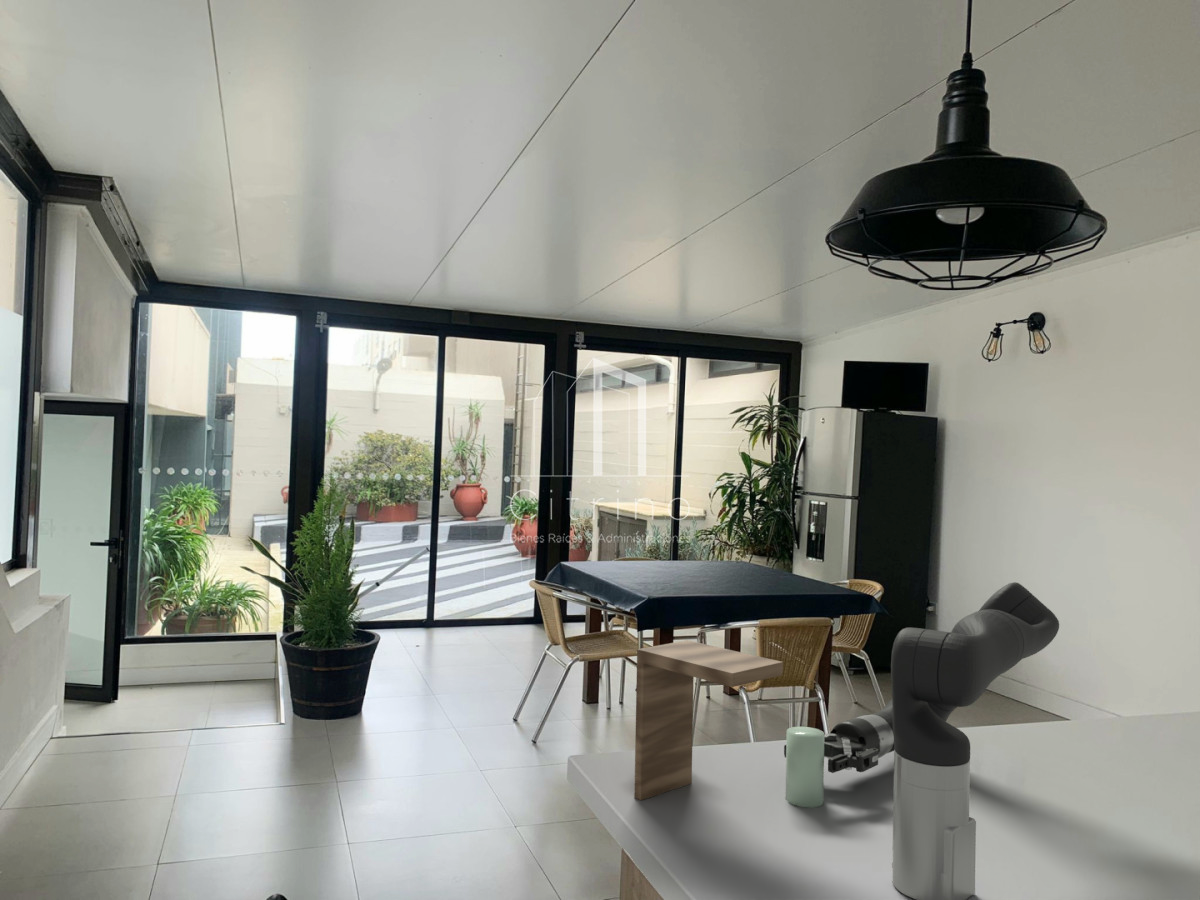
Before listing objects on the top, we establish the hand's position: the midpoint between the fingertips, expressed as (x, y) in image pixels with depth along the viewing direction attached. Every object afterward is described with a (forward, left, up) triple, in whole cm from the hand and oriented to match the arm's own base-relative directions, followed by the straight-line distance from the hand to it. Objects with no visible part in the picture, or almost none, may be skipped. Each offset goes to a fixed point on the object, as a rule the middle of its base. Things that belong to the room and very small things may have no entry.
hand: (807, 758), depth 143 cm
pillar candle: (0, +1, -7) cm, 7 cm away
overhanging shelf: (+8, +16, -7) cm, 19 cm away
